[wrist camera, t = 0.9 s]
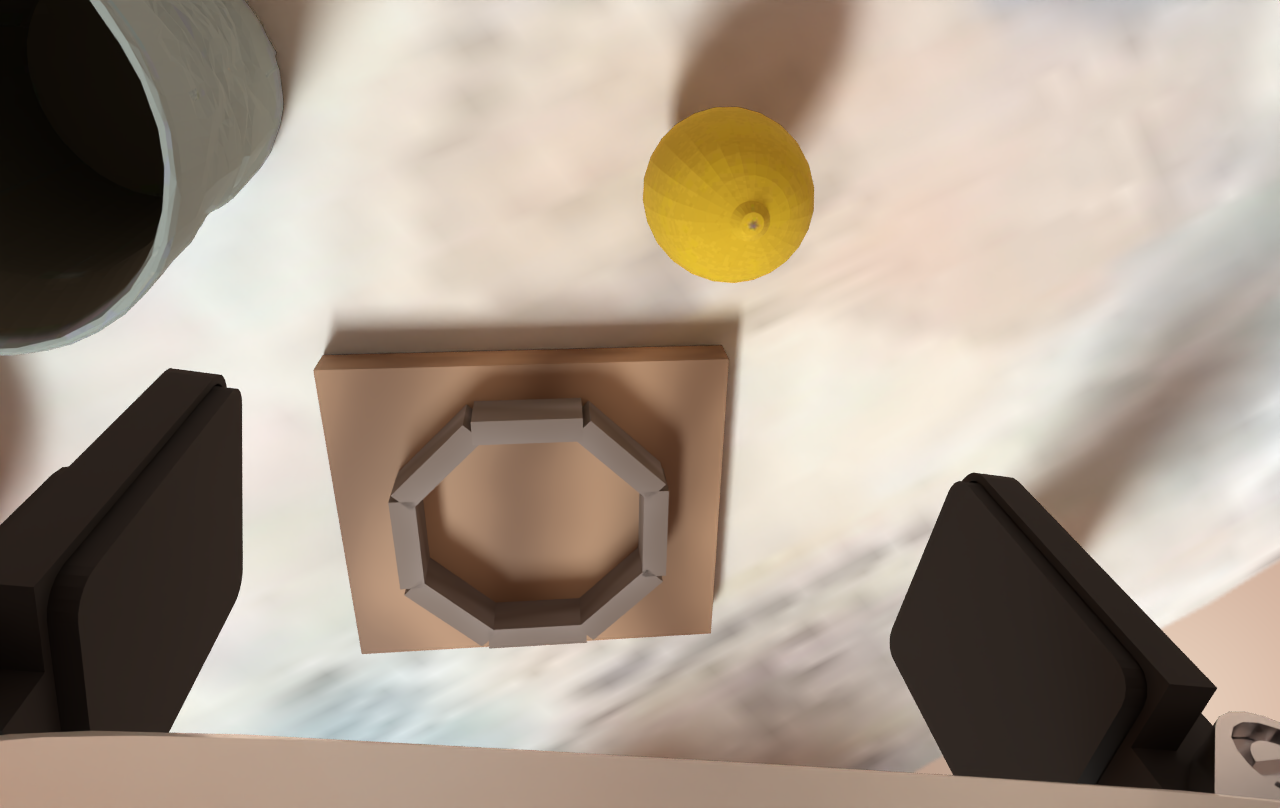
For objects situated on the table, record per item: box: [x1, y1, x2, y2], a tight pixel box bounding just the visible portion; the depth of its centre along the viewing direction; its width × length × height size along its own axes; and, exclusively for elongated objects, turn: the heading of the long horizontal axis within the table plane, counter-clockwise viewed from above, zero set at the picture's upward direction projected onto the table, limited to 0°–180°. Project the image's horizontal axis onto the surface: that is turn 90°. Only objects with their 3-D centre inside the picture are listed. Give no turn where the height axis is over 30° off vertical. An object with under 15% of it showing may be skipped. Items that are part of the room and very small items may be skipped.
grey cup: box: [0, 0, 284, 355], centre depth 23 cm, size 10×10×12 cm
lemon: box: [643, 107, 814, 283], centre depth 28 cm, size 6×6×8 cm
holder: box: [313, 345, 729, 654], centre depth 35 cm, size 16×14×3 cm
